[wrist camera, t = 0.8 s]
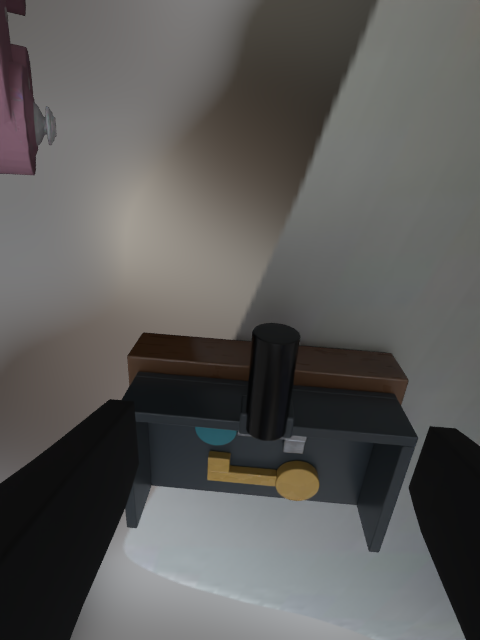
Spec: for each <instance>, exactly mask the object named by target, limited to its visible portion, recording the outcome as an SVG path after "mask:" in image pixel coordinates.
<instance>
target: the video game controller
mask: <svg viewBox="0 0 480 640" xmlns="http://www.w3.org/2000/svg"><path fill="white" fill-rule="evenodd" d="M25 10H26V4H25V0H0V174H20V175H21V174H22V175H35V171H36V154H37V151H38V145H39V144H40V143H41V142H42V139H43V137H44V135H45V134H47V135H48V142H49V145H52V143H53V141H54V138H55V137H56V123H55V117H53V115H52V112H51V111H50V109H49V107H46V117H43V115H42V113H41V111H40V109H39V107H38V106H37V105H36V104H35V102H34V98H33V89H32V79H31V69H30V61H29V55H28V51H27V48H26V47H23V46H19V45H14V44H10V36H9V28H8V15H7V12H10V13H15V14H19V15H23V16H25Z"/></svg>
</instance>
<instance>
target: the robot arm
mask: <svg viewBox="0 0 480 640" xmlns="http://www.w3.org/2000/svg"><path fill="white" fill-rule="evenodd" d="M138 465H139V456H138V443H137V431H136V418H135V406H134V401H124V400H111V399H110V400H108V401H107V402H106V403H105V404H104V405H102V406H101V407H100V408H98V409H97V410H96V411H95V412H93V413H92V414H91V415H90V416H89V417H87V418H86V419H85V420H83V421H82V422H81V423H80V424H78V425H77V426H76V427H75V428H73V429H72V430H71V431H70V432H68V433H67V434H66V435H65V436H64V437H62V438H61V439H60V440H58V441H57V442H56V443H54V444H53V445H52V446H51V447H50V448H48V449H47V450H45V451H44V452H43V453H42V454H40V455H39V456H38V457H36V458H35V459H34V460H32V461H31V462H30V463H28V464H27V465H25V466H24V467H23V468H21V469H20V470H19V471H17V472H16V473H14V474H13V475H11V476H10V477H9V478H7V479H6V480H5V481H3V482H2V483H0V640H70V638H71V635H72V632H73V630H74V627H75V625H76V622H77V619H78V617H79V614H80V612H81V609H82V606H83V604H84V602H85V599H86V597H87V595H88V593H89V590H90V588H91V586H92V583H93V581H94V579H95V577H96V574H97V572H98V569H99V567H100V565H101V563H102V561H103V558H104V556H105V554H106V551H107V549H108V547H109V544H110V542H111V540H112V537H113V535H114V533H115V530H116V528H117V525H118V523H119V521H120V519H121V516H122V514H123V512H124V509H125V507H126V505H127V502H128V498H129V495H130V492H131V489H132V486H133V482H134V479H135V476H136V472H137V469H138ZM409 491H410V495H411V498H412V502H413V506H414V510H415V513H416V516H417V520H418V523H419V526H420V530H421V533H422V535H423V538H424V540H425V543H426V545H427V548H428V550H429V552H430V555H431V557H432V560H433V562H434V564H435V567H436V569H437V572H438V574H439V576H440V579H441V581H442V584H443V586H444V588H445V591H446V593H447V595H448V598H449V600H450V603H451V605H452V607H453V610H454V612H455V614H456V617H457V619H458V622H459V624H460V626H461V629H462V631H463V633H464V636H465V638H466V640H480V446H478V445H477V444H476V443H475V442H473V441H472V440H471V439H469V438H468V437H467V436H465V435H464V434H463V433H461V432H460V431H459V430H457V429H456V428H444V427H432V426H430V427H429V430H428V433H427V436H426V439H425V442H424V445H423V447H422V450H421V453H420V456H419V459H418V462H417V465H416V468H415V471H414V473H413V476H412V479H411V482H410V485H409Z"/></svg>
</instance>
